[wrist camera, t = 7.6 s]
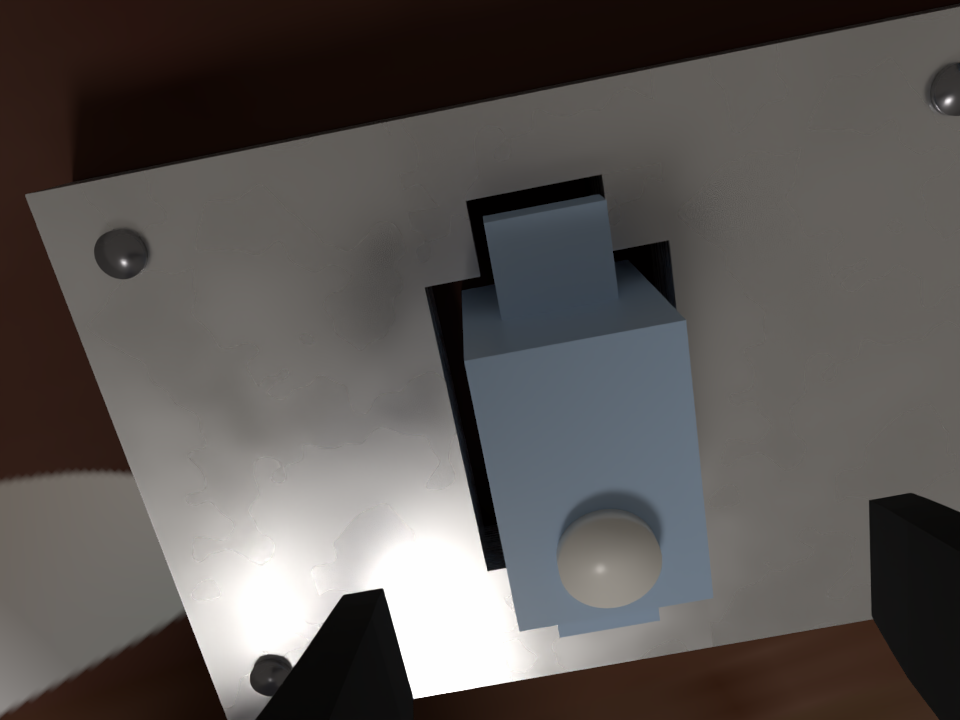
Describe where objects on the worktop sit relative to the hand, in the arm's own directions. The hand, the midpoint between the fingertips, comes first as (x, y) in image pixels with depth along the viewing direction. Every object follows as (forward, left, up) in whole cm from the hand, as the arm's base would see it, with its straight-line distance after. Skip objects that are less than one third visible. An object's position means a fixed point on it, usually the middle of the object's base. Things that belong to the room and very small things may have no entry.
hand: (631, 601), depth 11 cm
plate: (0, 0, -9) cm, 9 cm away
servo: (0, 0, -9) cm, 9 cm away
